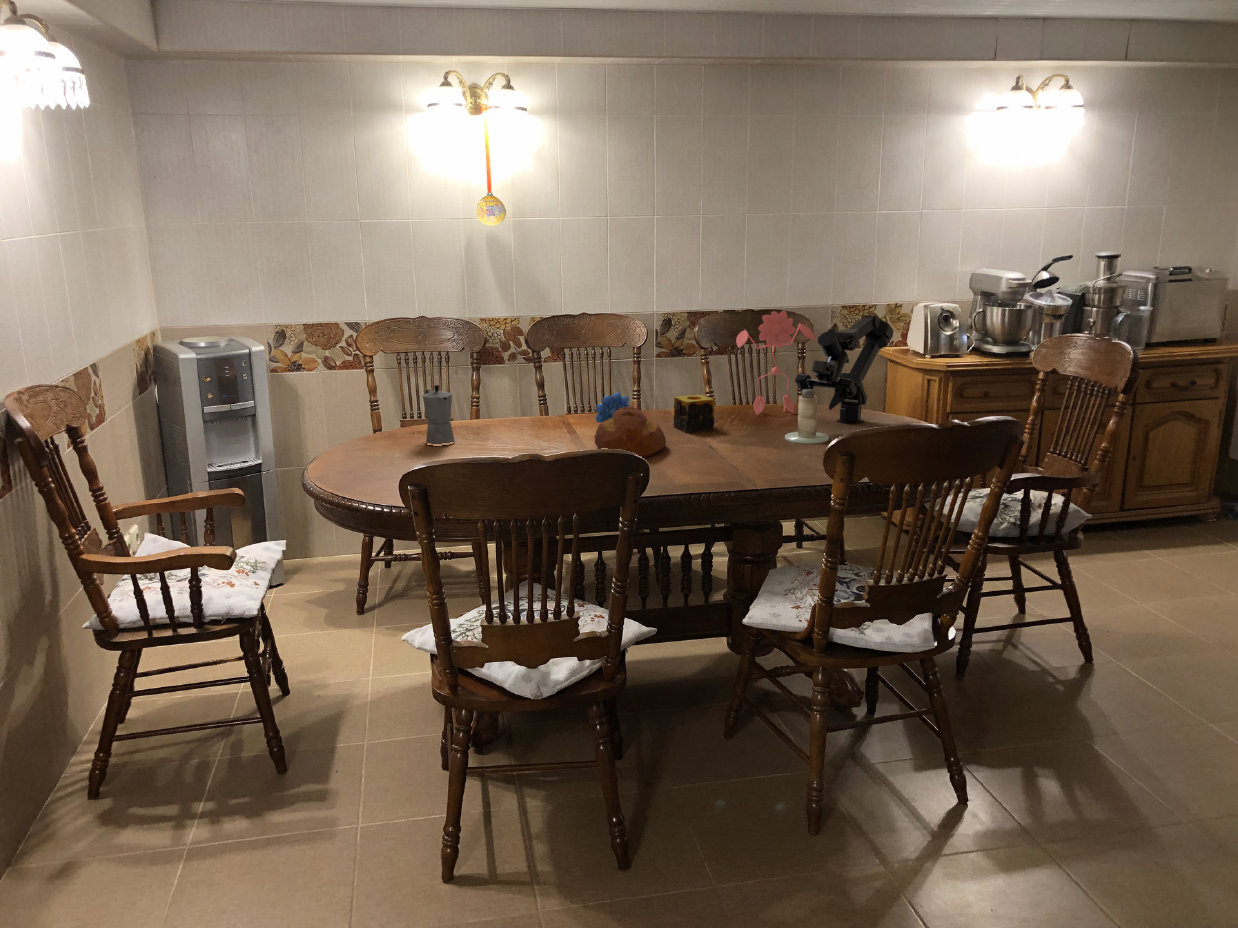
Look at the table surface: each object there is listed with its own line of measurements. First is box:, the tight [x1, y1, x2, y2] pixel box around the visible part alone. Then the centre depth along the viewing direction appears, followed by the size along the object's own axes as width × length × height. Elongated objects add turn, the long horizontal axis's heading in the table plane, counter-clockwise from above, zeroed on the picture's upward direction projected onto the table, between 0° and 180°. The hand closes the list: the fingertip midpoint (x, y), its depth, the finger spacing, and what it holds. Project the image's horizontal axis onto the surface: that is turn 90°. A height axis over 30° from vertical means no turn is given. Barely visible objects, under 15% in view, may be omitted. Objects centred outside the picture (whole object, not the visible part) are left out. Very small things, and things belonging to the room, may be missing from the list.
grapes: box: [595, 392, 631, 424], centre depth 313 cm, size 12×7×12 cm, turn 97°
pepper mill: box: [797, 389, 818, 438], centre depth 295 cm, size 6×6×14 cm
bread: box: [594, 405, 667, 459], centre depth 288 cm, size 21×33×12 cm, turn 0°
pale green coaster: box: [784, 431, 830, 445], centre depth 296 cm, size 13×13×1 cm
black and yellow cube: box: [673, 394, 715, 434], centre depth 312 cm, size 10×10×10 cm
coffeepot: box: [422, 384, 456, 444], centre depth 299 cm, size 15×9×18 cm, turn 33°
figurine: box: [735, 310, 816, 421], centre depth 325 cm, size 15×26×35 cm, turn 95°
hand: (815, 407), depth 298 cm, fingers open, 9 cm apart
